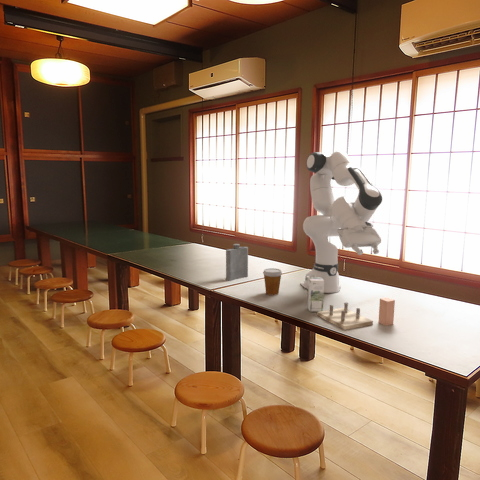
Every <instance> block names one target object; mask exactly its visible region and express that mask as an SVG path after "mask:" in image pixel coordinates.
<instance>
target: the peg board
mask: <svg viewBox="0 0 480 480" xmlns="http://www.w3.org/2000/svg"><path fill="white" fill-rule="evenodd" d="M343 304H344V305H343V306H344V307H340V308H334V305H333V304H330V305H329V309H327V310H323V311H321V312H316V313H317V314H316V315H317V316H318V317H320V318H322V319H324V320H325V321H327V322H329V323H331V324H333V325H334V326H336V327H338V328H340V329H342V330H344V331H347V330H351V329H358V328H361V327H367V326H373V323H374V321H373V320H371V319H370V318H367V317H365V316H363V315H361V308H360V307H357V308H356V311H352V310H350V309H348V305H349V303H348V302H344V303H343Z"/></svg>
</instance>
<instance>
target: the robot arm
mask: <svg viewBox="0 0 480 480" xmlns="http://www.w3.org/2000/svg"><path fill="white" fill-rule="evenodd" d="M305 164H306V168H307V170H308V171H309V172H311V173H313V175H311V177H310V180H309V187H310V188H309V189H310V191H309V192H310V196H311V203H312V207H313V209H314V210H315V211H317V212H319V213H321V214H322V215H321V214H319V215H318V214H317V215H316V214H315V215H311V216H307V217H306V218H305V219H304V221H303V223H302V229H303V232H304V234H305V235H306V236H308V237H309V238H310V239H311V240H312V243H313V245H314V247H315V262H313V263H312V265H313V268H312V269H311V270H309V271H308V272H307V273H306V274H305V278H304V279H305V280H304V281H301V282H300V286H302V287H304V288H306V289H307V290H308V280H309V277H321V278H322V279H323V280H324V293H323V294H325V293H328V294H331V293H338V292H340V289H341V285H340V274H339V272H338V271H339V263H338V260H339V259H338V257H339V249H338V247H337V246H336V245H335V244H333V243H331V242H330V241H329V237H339V240H340V243H341V245H342V246H343V247H344V248H346V249H347V248H349V249H350V248H351V249H352V250H353V251H354V252H356V254H357V255H358V256H362V255H363V254H364V251H363V250H362V249H361V248H367V247H368V248H370V247H371V248H372V249H373V250H372V253H373V254H374V255H377V254H379V253H380V251H379V250H380V249H378V246H380V244H381V243H382V238H381V237H380V235H379V233H378V232H377V230H376V229H375V228H373V227H374V225H373V223H371V222H369V221H370V219H371V218H372V216H373V215H374V213H375V211H376V210H377V209H378V207H379V206H380V205H381V204H382V202H383V195H382V194H381V191H379V190H378V189H377V187H375V186H374V185H373V183H372V182H371V181H370V179H369V178H368V176H367V174H365V173H364V171H363V170H362V169H361V168H360V167H358V166H357V165H355V164H354V162H353V161H352V159H351V158H350V156H349V155H348V154H347V153H346V151H342V150H337V151H334V152H333V153H332V154H331V153H325V152H320V151H316V152H311V153H310V154H309V155H308V157H307V158H306V162H305ZM331 180H333V181H335V182H336V184H338V185H339V186H343V187H348V186H352V185H355V186H356V188H357V189H358V195H357V198H356V199H355V201H353V200H349V199H347V198H346V197H345V196H340V197H338V198H336V199H335V198H334V194H333V189H332V185H331Z"/></svg>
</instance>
